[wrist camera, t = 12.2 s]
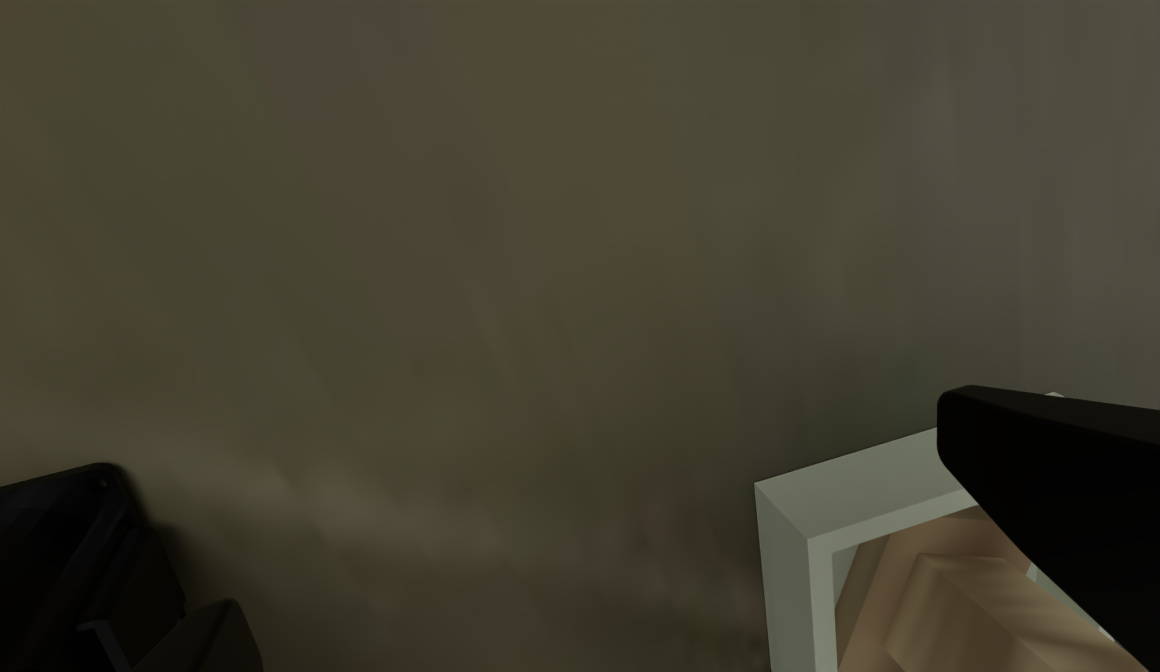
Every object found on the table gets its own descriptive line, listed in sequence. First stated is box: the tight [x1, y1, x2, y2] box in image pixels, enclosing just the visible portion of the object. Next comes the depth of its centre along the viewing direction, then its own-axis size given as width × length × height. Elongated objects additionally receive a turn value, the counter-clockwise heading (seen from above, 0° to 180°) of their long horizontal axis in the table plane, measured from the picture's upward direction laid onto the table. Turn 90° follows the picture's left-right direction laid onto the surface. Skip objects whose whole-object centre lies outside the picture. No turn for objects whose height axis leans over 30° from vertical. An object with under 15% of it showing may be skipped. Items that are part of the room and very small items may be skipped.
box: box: [754, 392, 1114, 672], centre depth 28 cm, size 13×13×4 cm
